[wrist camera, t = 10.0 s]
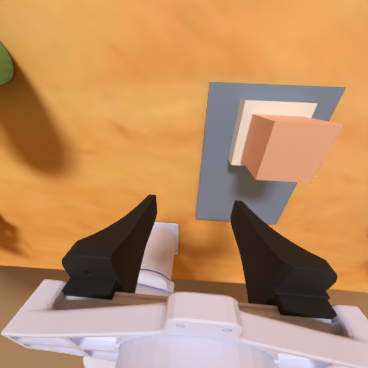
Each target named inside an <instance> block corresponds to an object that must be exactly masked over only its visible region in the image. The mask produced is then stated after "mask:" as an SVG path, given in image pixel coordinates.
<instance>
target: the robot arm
mask: <svg viewBox="0 0 368 368" xmlns="http://www.w3.org/2000/svg"><path fill="white" fill-rule="evenodd" d="M156 215H157V204H156V195H148V196H147V197H146V198H145V199H144V200H143V201H142V202H141V203H140V204H139V205H138V206H137V207H136V208H134V209H133V210H132V211H131V212H130V213H128V214H127V215H126V216H125V217H123V218H122V219H120V220H119V221H117V222H116V223H114V224H112V225H110V226H109V227H107V228H105V229H103V230H101V231H99V232H97V233H95V234H93V235H91V236H88V237H86V238H83V239H81V240H78V241H77V242H76V243H75V244H74V245H73V246H72V248H71V249H70V250H69V251H68V253H67V254H66V255H65V256H64V258H63V259H62V265H63V267H64V269H65V270H66V272H67V273H68V274H69V276H70V277H71V278H70V279H69V281H68V282H67V283H66V282H64V281H60V280H49V279H46V280H44V281H43V282H42V283H41V284H40V286H39V287H38V288H37V289H36V291H35V292H34V293H33V294H32V295H31V297H30V298H29V299H28V301H27V302H26V303H25V304H24V305H23V306H22V308H21V309H20V310H19V312H18V313H17V314H16V315H15V316H14V318H13V319H12V320H11V321H10V322H9V324H8V325H7V326H6V327H5V329H4V330H3V331H2V332H1V334H2V335H3V336H5V337H7V338H9V339H11V340H13V341H15V342H16V343H18V344H20V345H22V346H24V347H26V348H30V349H39V350H47V351H54V352H61V353H68V354H73V355H79V356H84V359H83V362H84V366H85V368H368V320H367V318H366V317H365V316H364V315H363V313H362V312H361V311H360V309H359V308H358V307H356V306H349V305H332V306H331V305H330V303H329V302H328V299H329V296H328V294H327V293H326V290H328V289H329V288H330V287H331V286H332V285H333V284H334V283H335V282H336V280H337V274H336V273H335V271H334V270H333V269H332V268H331V266H330V265H329V264H328V263H327V261H326V260H324V259H322V258H320V257H318V256H316V255H314V254H312V253H310V252H308V251H306V250H305V249H303V248H301V247H299V246H297V245H296V244H294V243H292V242H291V241H289V240H288V239H286V238H285V237H283V236H282V235H280V234H279V233H277V232H276V231H275V230H273V229H272V228H271V227H269V226H268V225H267V224H266V223H265V222H263V221H262V220H261V219H260V218H259V217H258V216H257V215H256V214H255V213H254V212H253V211H252V210H251V209H250V208H249V207H248V206H247V205H246V204H245V203H244V202H242V201H238V200H235V201H234V205H233V209H232V212H231V216H230V219H231V225H232V229H233V232H234V235H235V239H236V242H237V245H238V248H239V251H240V255H241V260H242V265H243V270H244V276H245V281H246V288H247V294H248V302H249V303H238V302H237V301H236V300H235V299H234V298H232V297H231V296H226V295H220V294H208V293H197V292H185V291H184V292H176V291H174V283H173V282H171V278H172V270H173V262H174V255H178V242H179V224H177V223H166V222H155V219H156ZM176 227H177V228H176Z"/></svg>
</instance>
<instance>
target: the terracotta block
mask: <svg viewBox="0 0 368 368" xmlns="http://www.w3.org/2000/svg"><path fill="white" fill-rule="evenodd" d="M343 126H344V124H339V123H333V122H328V121H323V120H318V119H313V118H308V117H303V116H284V115H263V114H252V118H251V122H250V126H249V130H248V134H247V138H246V141H245V145H244V149H243V153H242V157H241V160H242V162H243V163H244V164H245V166H246V167H247V168H248V170H249V171H250V173H251V174H252V175H253V177H254V178H255V179H256V180H269V181H285V182H302V183H312V181H313V179H314V177H315V176H316V174H317V172H318V170H319V169H320V167H321V165H322V163H323V162H324V160H325V158H326V156H327V155H328V153H329V151H330V149H331V148H332V146H333V144H334V142H335V141H336V139H337V137H338V135H339V134H340V132H341V130H342V128H343Z"/></svg>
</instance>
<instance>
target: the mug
mask: <svg viewBox="0 0 368 368" xmlns="http://www.w3.org/2000/svg"><path fill="white" fill-rule="evenodd" d="M13 75H14V66H13V62H12V59H11V57H10V55H9V53H8V51H7V49H6V48H5V47H4V45H3V44H2V42H1V41H0V85H2V84H4V83H6V82H8V81H10V80H11V79H12V77H13Z"/></svg>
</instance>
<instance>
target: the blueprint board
mask: <svg viewBox="0 0 368 368" xmlns="http://www.w3.org/2000/svg"><path fill="white" fill-rule="evenodd" d="M345 88H346V87H320V86H295V85H270V84H244V83H219V82H210V85H209V94H208V104H207V113H206V123H205V132H204V142H203V151H202V161H201V170H200V180H199V189H198V199H197V208H196V219H204V220H218V221H231V219H230V216H231V212H232V209H233V205H234V201H235V200H238V201H242V202H244V203H245V204H246V205H247V206H248V207H249V208H250V209H251V210H252V211H253V212H254V213H255V214H256V215H257V216H258V217H259V218H260V219H261V220H262V221H263V222H265V223H266V224H275V225H276V224H277V222H278V220H279V218H280V216H281V214H282V212H283V210H284V208H285V206H286V204H287V202H288V200H289V198H290V196H291V194H292V192H293V190H294V188H295V186H296V184H297V182H285V181H269V180H256V179H255V178H254V177H253V175H252V174H251V173H250V171H249V170H248V168H247V167H246V166H245V164H244V163H243V162H242V160H241V157H242V153H243V149H244V145H245V141H246V138H247V134H248V130H249V126H250V122H251V118H252V114H263V115H284V116H303V117H308V118H313V119H318V120H323V121H328V122H329V120H330V118H331V116H332V114H333V112H334V110H335V108H336V106H337V104H338V102H339V100H340V98H341V96H342V94H343V92H344V90H345Z"/></svg>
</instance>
